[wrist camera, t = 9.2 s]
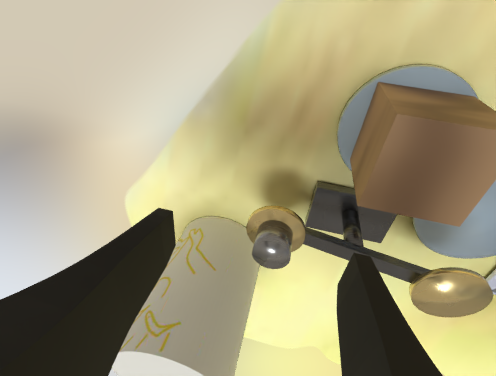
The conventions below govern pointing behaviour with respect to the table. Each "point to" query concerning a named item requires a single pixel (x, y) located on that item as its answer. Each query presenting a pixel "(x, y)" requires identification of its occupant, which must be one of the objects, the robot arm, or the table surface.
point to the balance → (361, 249)
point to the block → (424, 153)
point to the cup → (195, 306)
